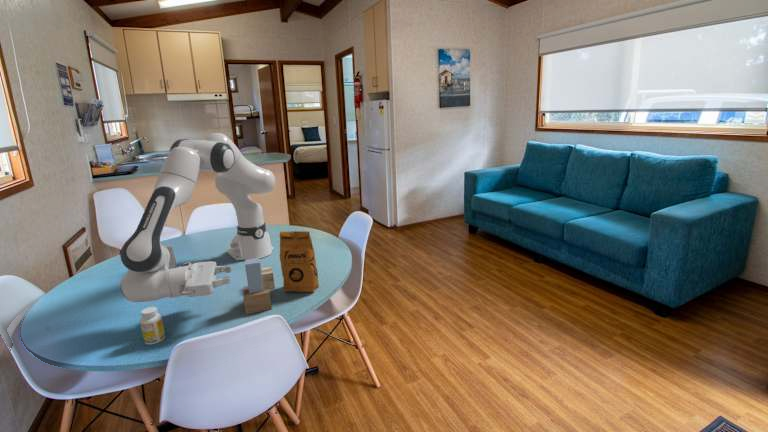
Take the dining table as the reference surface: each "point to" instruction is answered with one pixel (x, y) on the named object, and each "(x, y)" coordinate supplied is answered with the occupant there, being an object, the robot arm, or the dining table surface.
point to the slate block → (254, 275)
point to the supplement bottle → (152, 326)
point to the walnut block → (257, 300)
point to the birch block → (268, 277)
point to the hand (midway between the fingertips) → (230, 274)
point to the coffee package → (298, 262)
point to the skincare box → (171, 257)
